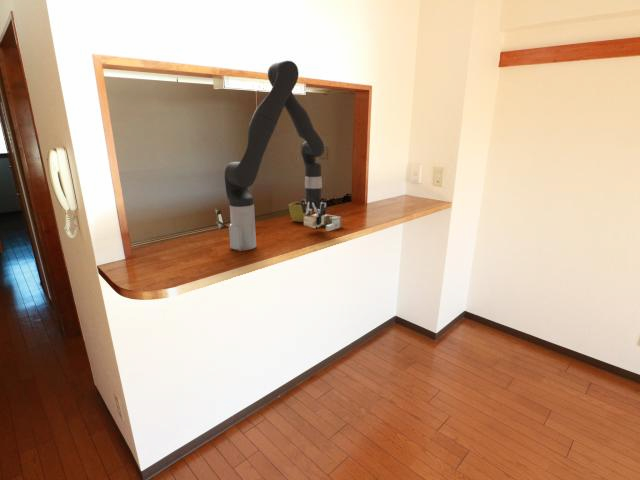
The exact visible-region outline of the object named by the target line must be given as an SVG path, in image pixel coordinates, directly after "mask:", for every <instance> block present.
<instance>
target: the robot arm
mask: <svg viewBox="0 0 640 480" xmlns="http://www.w3.org/2000/svg"><path fill="white" fill-rule="evenodd" d="M299 73H300V72H299V69H298V66H297V64H296V63H295V62H293V61H292V60H282V61H279V62H276V63H273V64H271V65H270V66H269V68H268V69H267V78H268V81H269V83H270V85H271V90H270V91H269V93H268V94H267V96H266V97H264V99H263V100H262V101H261V102H260V104H258V106H257V108H256V109H255V111H254V113H253V115H252V117H251V120H249V121H250V122H249V124H248V126H247V127H248V128H247V144H246V145H247V146H246V149H245V151H244V154H243V156H242V158H241V160H240V161H231V162H229V163H228V164H227V166H226V167H225V170H224V182H225V183H224V185H225V193H226V197H227V199H228V202H229V204H228V205H229V215H230V224H229V225H228V230H229V231H228V232H229V234H228V235H229V245H230V249H232V250H234V251H238V252H242V251H248V250H249V251H250V250H254V249H255V248H257V237H256V218H255V202H254V201H255V200H254V199H255V198H254V197H253V195H252V194H251V193H250V192H249V188H250V187H252V185H253V184H254V183H255V182H256V179H257V177H258V173H259V171H260V168H261V167H260V166H261V163H262V161H263V159H264V154H265V152H266V150H267V148H268V146H269V145H268V144H269V143H270V140H271V137H272V136H273V134H274V131H275V129H276V127H277V124H278V122H279V119H280V117H281V115H282V113H283V110H284V108H285V110H286V111H287V113H288V114H289V117H290V120H291V122H292V123H293V126H294V128H295V130H296V132H297V135H298V137H299V138H301V139H303V140H304V142H303V143H302V144H301V145H302V146H301V155H302V159H303V163H304V167H305V168H304V169H305V170H304V171H305V176H304V177H305V178H304V196H305V199H302V200H300V202H301V205H302V211H303V213H305V214H306V216H309V215H312V211H313V210H314V211H313V212H314V213H315V214H316V215H317V217H316V218H317V225H320V224H321V217H322V216H323V215H325V214H327V213H326V212H327V206H328V203H327V202H323V200H322V197H323V180H322V164H321V163H319V161H317V158H319V157H322V156H323V155H324V153H325V144H324V142H323V140H322V138H321V137H320V135H319V134H318V132H317V131H316V130H315V128H314V126H313V123H312V120H311V118H310V116H309V114H308V112H307V110H306V109H305V108H304V107H303V106H302V104H301V103H300V101H298V100H297V98H296V97H295V95H294V93H293V92H292V91H293V90H294V88H295V86H296V84H297V82H298V79H299Z"/></svg>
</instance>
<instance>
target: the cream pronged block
mask: <svg viewBox="0 0 640 480" xmlns="http://www.w3.org/2000/svg"><path fill="white" fill-rule="evenodd" d="M316 217H317V215H316V213H315V214H311V215H309V216H305V217H304V221H303V226H306V227H310V228H312V227H314V226H318V225H317V218H316ZM322 224H324V215H323V216H322V217H321V224H320V225H322Z"/></svg>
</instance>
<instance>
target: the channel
mask: <svg viewBox="0 0 640 480" xmlns="http://www.w3.org/2000/svg"><path fill="white" fill-rule="evenodd" d="M342 220H343V219H342V216H339V215H332V214H327V213H325V215H324V224H322V225H318V226H314V227H311V228H312V229H316V227H317V228H320V227H323V226H325V231H326V232H330V231H334V230H337V229H340V228H342V224H343V221H342Z"/></svg>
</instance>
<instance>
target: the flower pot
mask: <svg viewBox="0 0 640 480" xmlns="http://www.w3.org/2000/svg"><path fill="white" fill-rule="evenodd" d="M288 209H289V214H290V215H289V216H290V217H291V219H292V220H293V222H300V223H304V217H305V216H306V214H305V213H303V211H302V205H301V201H295V202H292V203H290V204H288Z"/></svg>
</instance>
